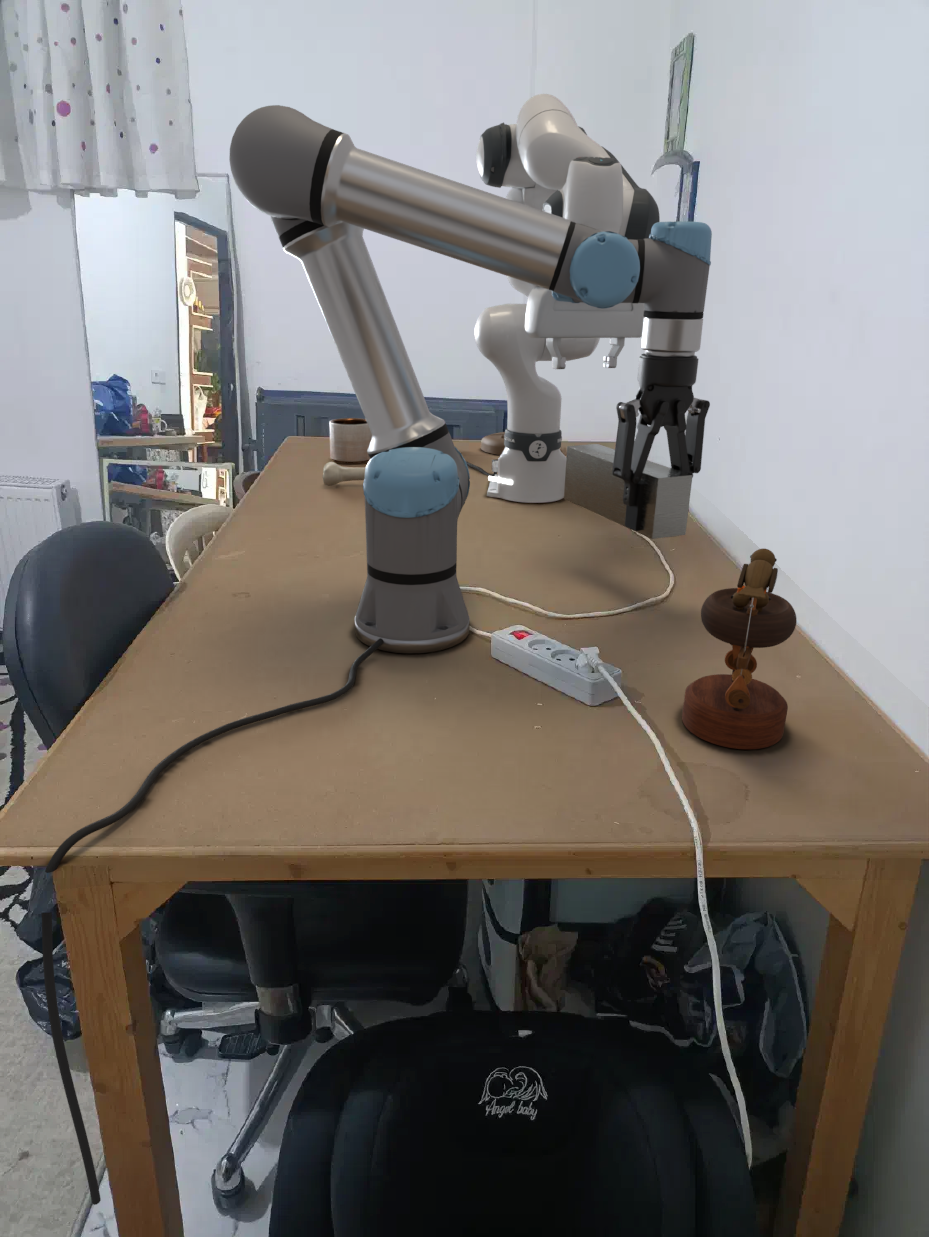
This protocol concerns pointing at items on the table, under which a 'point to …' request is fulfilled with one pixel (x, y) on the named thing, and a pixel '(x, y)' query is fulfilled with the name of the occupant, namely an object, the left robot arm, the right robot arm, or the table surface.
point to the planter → (349, 440)
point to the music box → (742, 662)
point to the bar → (604, 492)
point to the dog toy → (341, 474)
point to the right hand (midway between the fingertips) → (584, 368)
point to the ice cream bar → (493, 443)
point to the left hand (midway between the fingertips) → (651, 525)
